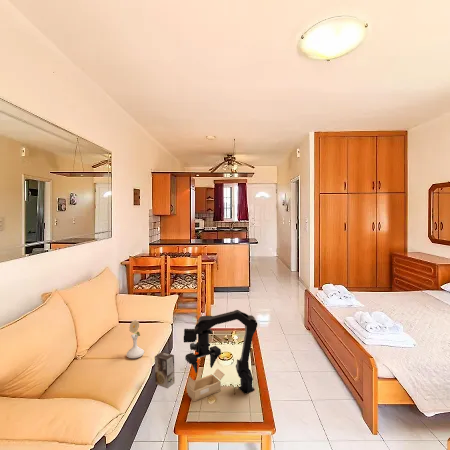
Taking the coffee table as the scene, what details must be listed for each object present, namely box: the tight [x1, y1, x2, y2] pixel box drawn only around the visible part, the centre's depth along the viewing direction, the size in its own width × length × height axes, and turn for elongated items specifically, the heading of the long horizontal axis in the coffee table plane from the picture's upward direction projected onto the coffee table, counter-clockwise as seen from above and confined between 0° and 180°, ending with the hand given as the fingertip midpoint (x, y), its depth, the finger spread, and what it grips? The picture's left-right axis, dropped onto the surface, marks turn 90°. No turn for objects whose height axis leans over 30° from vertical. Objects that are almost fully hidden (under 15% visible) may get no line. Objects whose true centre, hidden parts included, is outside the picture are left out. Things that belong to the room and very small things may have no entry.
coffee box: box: [154, 351, 176, 389], centre depth 166 cm, size 9×6×16 cm
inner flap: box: [212, 368, 225, 381], centre depth 164 cm, size 7×4×1 cm
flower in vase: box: [125, 319, 145, 359], centre depth 197 cm, size 13×11×25 cm
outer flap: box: [187, 375, 196, 390], centre depth 154 cm, size 7×4×1 cm
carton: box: [186, 374, 222, 402], centre depth 158 cm, size 9×16×5 cm, turn 124°
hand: (203, 370), depth 158 cm, fingers open, 9 cm apart
